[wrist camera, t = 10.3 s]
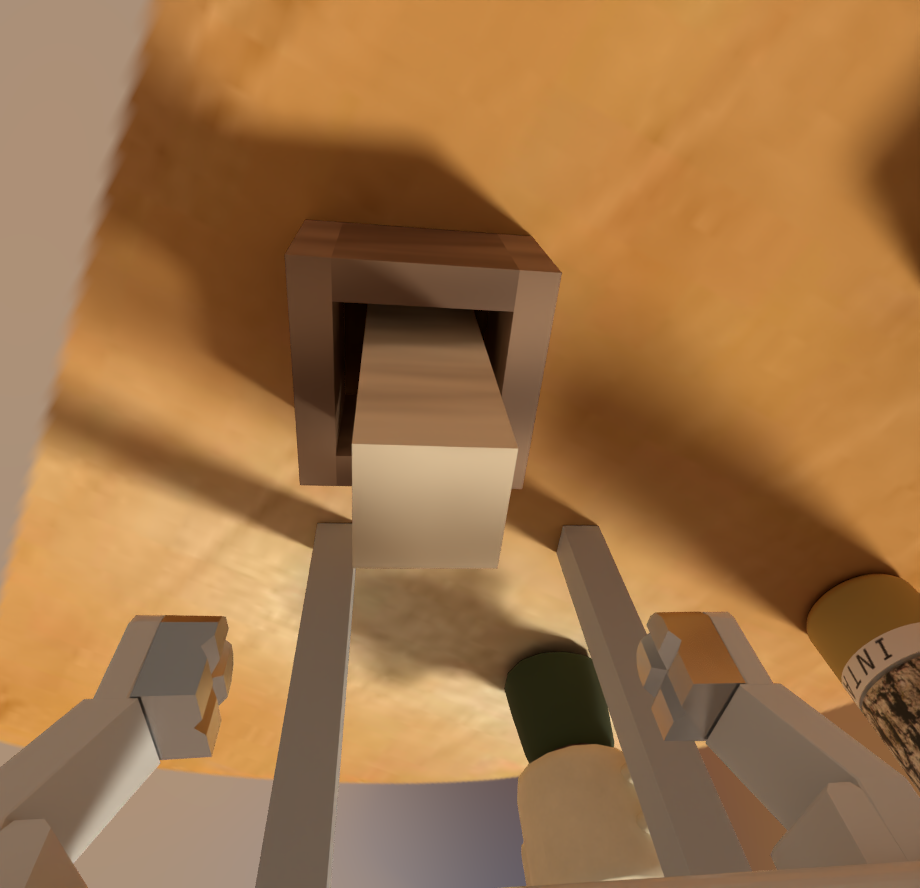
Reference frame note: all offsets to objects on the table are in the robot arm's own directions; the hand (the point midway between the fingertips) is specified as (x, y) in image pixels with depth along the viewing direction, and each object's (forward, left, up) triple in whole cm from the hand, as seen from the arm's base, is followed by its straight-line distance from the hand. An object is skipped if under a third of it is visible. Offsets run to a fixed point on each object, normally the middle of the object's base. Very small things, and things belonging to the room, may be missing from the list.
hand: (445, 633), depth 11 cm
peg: (0, 0, -16) cm, 16 cm away
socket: (0, 0, -16) cm, 16 cm away
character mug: (+23, +10, -16) cm, 30 cm away
